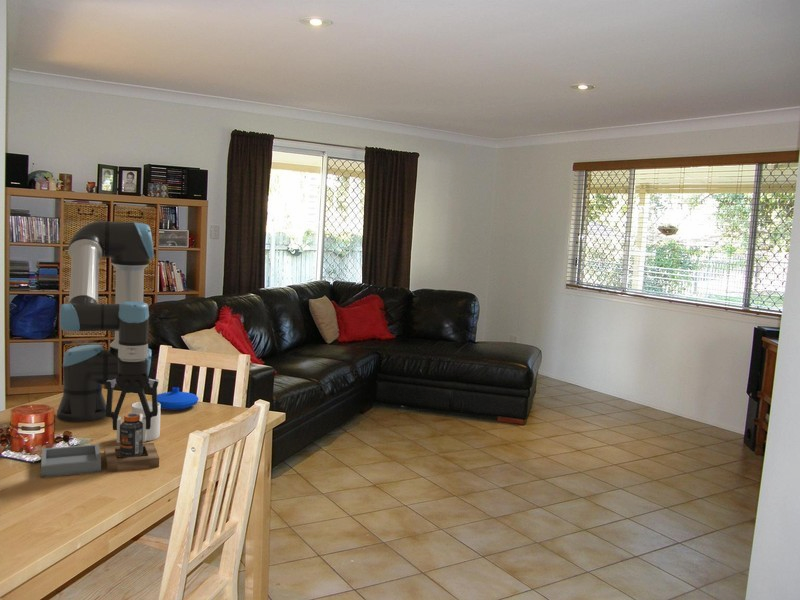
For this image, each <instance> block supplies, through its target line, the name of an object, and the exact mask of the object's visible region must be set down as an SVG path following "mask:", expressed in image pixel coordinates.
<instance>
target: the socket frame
mask: <svg viewBox="0 0 800 600" xmlns="http://www.w3.org/2000/svg"><path fill="white" fill-rule="evenodd" d="M104 461H105V467H106V472H107V473H111V472H119V471H120V472H121V471H130V470H132V471H133V470H141V469H152V468H159V467H160V456H159V453H158V451H157V449H156V446H155V443H154V442H147V443H146V442H144V443H143V453H142V454H141V455H140V456H137V457H131V458H129V457H123V456H121V455H120V445H113V446H104Z"/></svg>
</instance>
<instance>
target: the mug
mask: <svg viewBox="0 0 800 600" xmlns="http://www.w3.org/2000/svg"><path fill="white" fill-rule="evenodd" d="M147 403H148V406H149V409H150V412H151V411H153V410H152V400H147ZM161 409H162V408H161V404H160V403H158V414H157V416H153V417H151V427H150V429H146V442H152V441H155V440H157V439H159V438H160V434H161V433H160V432H161ZM131 413H137V414H139V415H140V420H139V421H141V422H142V423H143V417H144V416H145V413H144V410H143V407H142V404H141V401H137V402H133V403H132V404H131Z"/></svg>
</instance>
